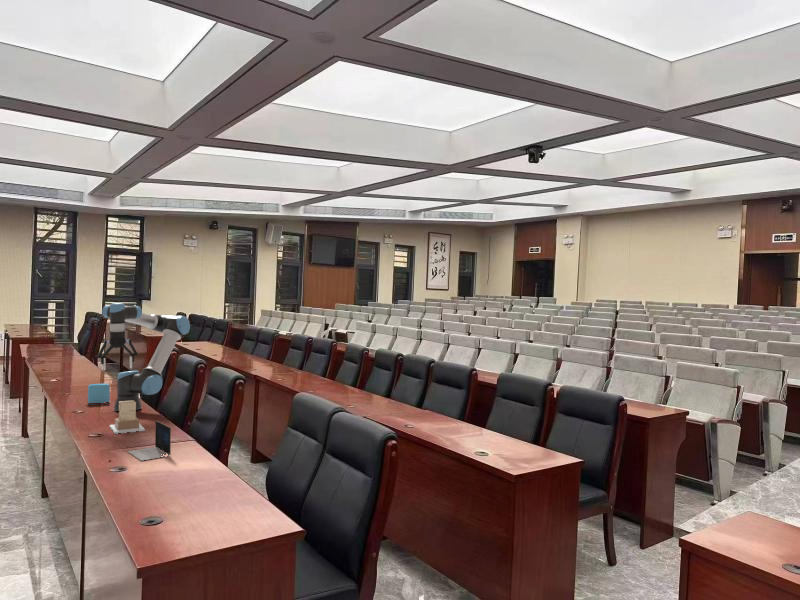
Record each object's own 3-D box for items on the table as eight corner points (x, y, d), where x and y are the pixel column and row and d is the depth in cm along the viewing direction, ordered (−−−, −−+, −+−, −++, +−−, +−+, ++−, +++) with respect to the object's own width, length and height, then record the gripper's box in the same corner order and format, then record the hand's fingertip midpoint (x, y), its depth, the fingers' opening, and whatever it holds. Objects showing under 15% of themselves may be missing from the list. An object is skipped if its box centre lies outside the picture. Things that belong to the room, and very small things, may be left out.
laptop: (127, 452, 265) (127, 423, 265) (156, 448, 273) (156, 420, 273) (141, 462, 251) (141, 431, 251) (170, 457, 260) (171, 427, 260)
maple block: (118, 418, 309) (118, 401, 309) (133, 417, 313) (133, 400, 312) (120, 421, 303) (121, 403, 303) (135, 419, 307) (135, 402, 307)
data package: (109, 402, 377) (109, 383, 377) (109, 403, 373) (109, 384, 373) (87, 403, 371) (88, 384, 371) (88, 404, 367) (88, 385, 367)
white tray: (109, 426, 311) (109, 417, 311) (138, 423, 319) (138, 414, 319) (114, 434, 296) (115, 424, 296) (144, 430, 304) (144, 421, 304)
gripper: (139, 329, 339) (140, 366, 339) (91, 331, 324) (91, 370, 325) (143, 330, 333) (143, 368, 333) (93, 332, 318) (94, 371, 319)
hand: (117, 369), depth 329 cm, fingers open, 13 cm apart
